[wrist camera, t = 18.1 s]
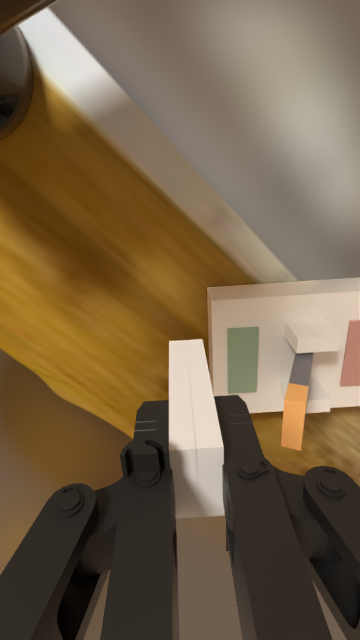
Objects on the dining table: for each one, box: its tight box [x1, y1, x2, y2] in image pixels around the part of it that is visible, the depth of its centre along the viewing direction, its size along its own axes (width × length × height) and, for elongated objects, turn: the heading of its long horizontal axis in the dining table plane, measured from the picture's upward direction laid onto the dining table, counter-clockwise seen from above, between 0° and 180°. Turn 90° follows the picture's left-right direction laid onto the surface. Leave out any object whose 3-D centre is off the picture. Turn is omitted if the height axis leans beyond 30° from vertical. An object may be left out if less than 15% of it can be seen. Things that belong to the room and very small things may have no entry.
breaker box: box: [207, 277, 360, 413], centre depth 47 cm, size 24×18×10 cm
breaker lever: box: [281, 352, 314, 451], centre depth 40 cm, size 2×6×14 cm, turn 3°
